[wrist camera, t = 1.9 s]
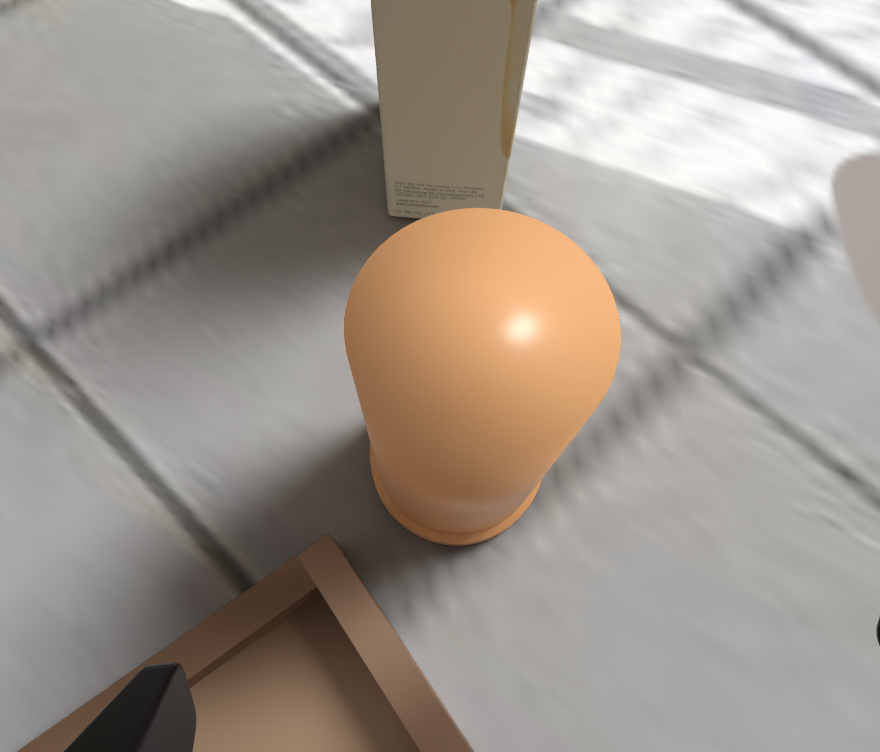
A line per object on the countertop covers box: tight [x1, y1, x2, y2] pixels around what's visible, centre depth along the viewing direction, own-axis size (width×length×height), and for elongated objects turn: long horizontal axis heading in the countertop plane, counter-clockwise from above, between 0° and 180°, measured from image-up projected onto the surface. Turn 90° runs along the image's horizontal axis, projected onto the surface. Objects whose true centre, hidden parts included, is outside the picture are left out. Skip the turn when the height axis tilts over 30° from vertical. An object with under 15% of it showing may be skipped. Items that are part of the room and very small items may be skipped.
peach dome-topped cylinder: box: [344, 208, 621, 546], centre depth 16 cm, size 5×5×10 cm
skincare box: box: [371, 0, 538, 219], centre depth 20 cm, size 6×4×12 cm
